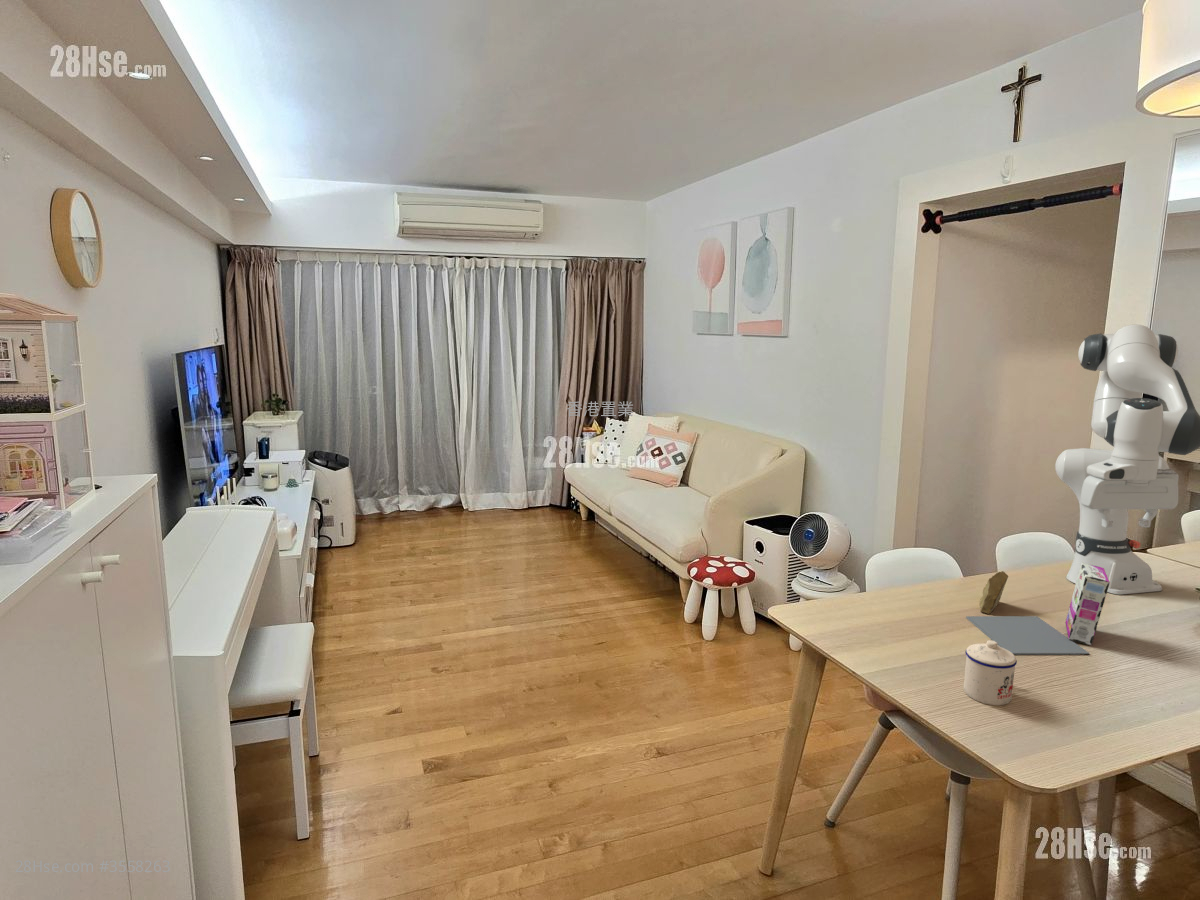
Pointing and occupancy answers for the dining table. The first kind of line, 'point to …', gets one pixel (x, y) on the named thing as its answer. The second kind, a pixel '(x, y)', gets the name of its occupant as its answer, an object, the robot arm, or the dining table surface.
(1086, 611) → the candy bar box
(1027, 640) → the mat
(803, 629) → the dining table surface
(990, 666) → the teacup with lid
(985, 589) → the rock
